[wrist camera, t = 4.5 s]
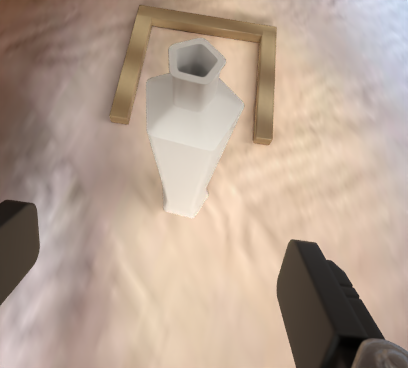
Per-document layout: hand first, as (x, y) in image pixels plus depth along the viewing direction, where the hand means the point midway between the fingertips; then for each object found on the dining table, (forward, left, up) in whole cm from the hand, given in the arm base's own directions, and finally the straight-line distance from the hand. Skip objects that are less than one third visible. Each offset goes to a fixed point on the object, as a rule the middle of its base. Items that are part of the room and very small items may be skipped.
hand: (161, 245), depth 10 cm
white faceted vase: (-3, +6, -14) cm, 15 cm away
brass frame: (-7, +17, -14) cm, 23 cm away
